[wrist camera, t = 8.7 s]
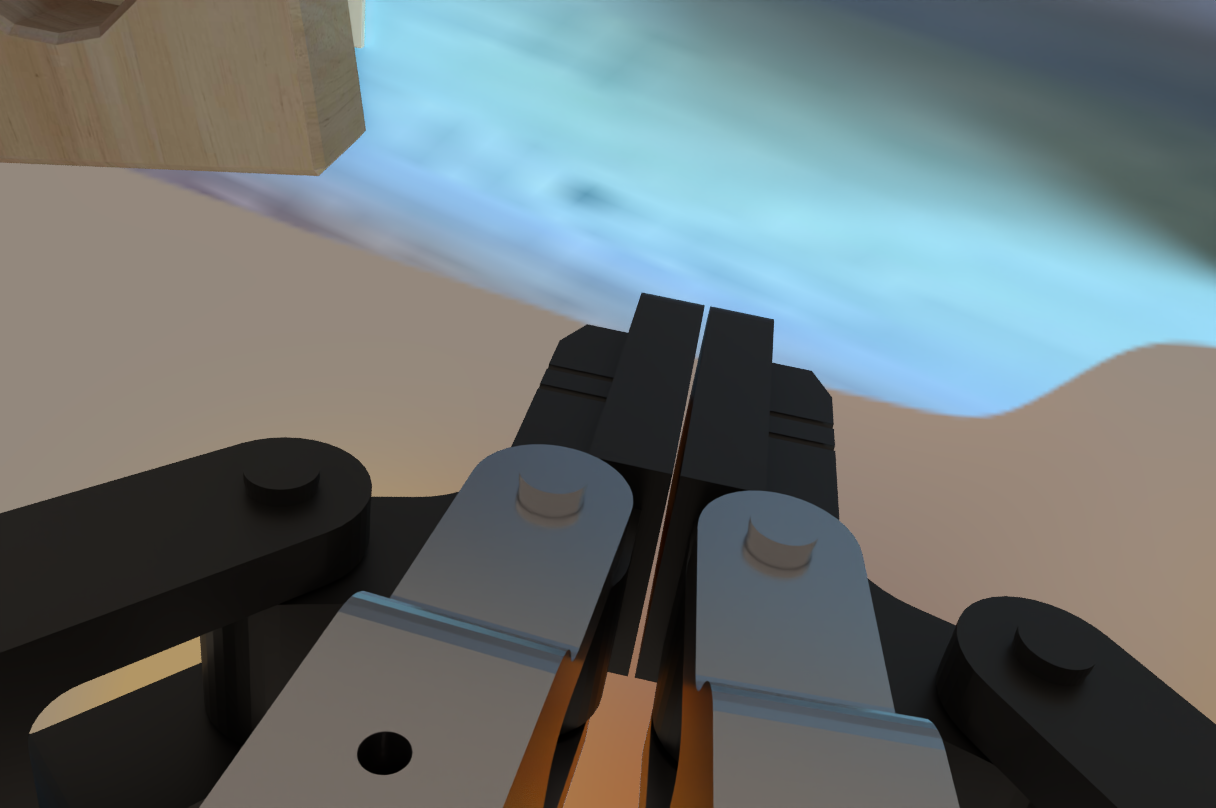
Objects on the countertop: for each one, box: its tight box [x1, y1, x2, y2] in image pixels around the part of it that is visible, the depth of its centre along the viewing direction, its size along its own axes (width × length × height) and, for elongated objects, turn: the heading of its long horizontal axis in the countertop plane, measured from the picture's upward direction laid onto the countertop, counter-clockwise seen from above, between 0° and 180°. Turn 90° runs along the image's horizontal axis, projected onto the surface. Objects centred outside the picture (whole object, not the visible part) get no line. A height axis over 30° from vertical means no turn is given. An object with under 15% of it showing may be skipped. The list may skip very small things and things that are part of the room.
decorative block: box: [0, 0, 366, 176], centre depth 42 cm, size 11×6×20 cm
